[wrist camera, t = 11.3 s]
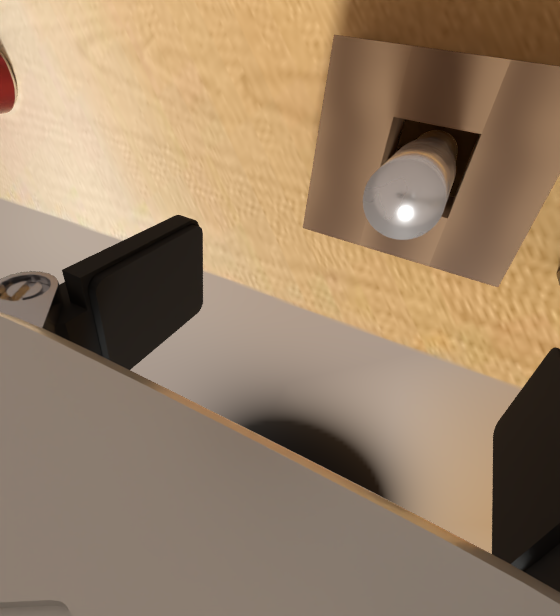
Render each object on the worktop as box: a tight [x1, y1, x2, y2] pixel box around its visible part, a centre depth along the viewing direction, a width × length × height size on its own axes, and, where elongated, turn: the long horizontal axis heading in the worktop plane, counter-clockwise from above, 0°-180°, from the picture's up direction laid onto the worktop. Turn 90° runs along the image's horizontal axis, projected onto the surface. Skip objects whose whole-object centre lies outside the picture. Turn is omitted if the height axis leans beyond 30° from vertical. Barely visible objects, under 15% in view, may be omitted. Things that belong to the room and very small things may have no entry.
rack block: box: [303, 35, 560, 287], centre depth 25 cm, size 14×12×5 cm
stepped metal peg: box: [363, 130, 458, 240], centre depth 22 cm, size 4×4×12 cm
